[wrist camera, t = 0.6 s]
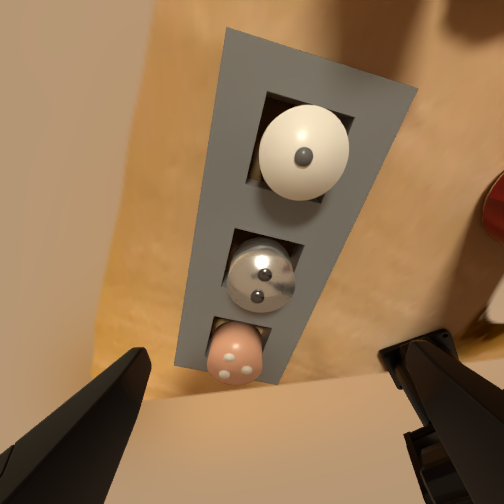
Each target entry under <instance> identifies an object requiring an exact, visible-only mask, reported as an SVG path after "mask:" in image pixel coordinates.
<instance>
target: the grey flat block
mask: <svg viewBox="0 0 504 504" xmlns="http://www.w3.org/2000/svg"><path fill="white" fill-rule="evenodd" d="M417 90H418V88H415V87H412V86H409V85H406V84H403V83H400V82H396V81H393V80H390V79H387V78H384V77H381V76H378V75H375V74H372V73H368V72H365V71H362V70H359V69H356V68H353V67H350V66H347V65H343V64H340V63H337V62H334V61H331V60H328V59H325V58H322V57H319V56H315V55H312V54H309V53H306V52H303V51H300V50H297V49H294V48H291V47H287V46H284V45H281V44H278V43H275V42H272V41H269V40H266V39H262V38H259V37H256V36H253V35H250V34H247V33H244V32H241V31H238V30H234V29H231V28H228V27H226V33H225V39H224V46H223V52H222V59H221V65H220V72H219V78H218V84H217V91H216V97H215V104H214V110H213V117H212V123H211V130H210V136H209V142H208V149H207V155H206V162H205V168H204V175H203V181H202V187H201V194H200V200H199V207H198V213H197V220H196V226H195V232H194V239H193V245H192V252H191V258H190V265H189V271H188V278H187V284H186V290H185V297H184V303H183V310H182V316H181V323H180V329H179V335H178V342H177V348H176V355H175V361H174V366H179V367H184V368H190V369H195V370H200V371H206V372H208V369H207V360H208V355H209V351H210V346H211V342H212V337H209V335H210V331H211V327H212V322H213V318H214V316H217V317H221V318H226V319H231V320H236V321H240V322H245V323H250V324H255V325H260V326H264V330H263V332H262V335H261V336H262V372H261V374H260V375H259V377H258V378H257V379H255V380H254V381H259V382H264V383H270V384H275V385H278V383H279V381H280V379H281V377H282V375H283V373H284V371H285V368H286V366H287V364H288V362H289V360H290V358H291V356H292V354H293V352H294V349H295V347H296V345H297V343H298V341H299V339H300V337H301V335H302V333H303V331H304V328H305V326H306V324H307V322H308V320H309V318H310V316H311V314H312V312H313V309H314V307H315V305H316V303H317V301H318V299H319V297H320V295H321V293H322V291H323V288H324V286H325V284H326V282H327V280H328V278H329V276H330V274H331V272H332V269H333V267H334V265H335V263H336V261H337V259H338V257H339V255H340V253H341V250H342V248H343V246H344V244H345V242H346V240H347V238H348V236H349V234H350V232H351V229H352V227H353V225H354V223H355V221H356V219H357V217H358V215H359V213H360V210H361V208H362V206H363V204H364V202H365V200H366V198H367V196H368V194H369V192H370V189H371V187H372V185H373V183H374V181H375V179H376V177H377V175H378V173H379V170H380V168H381V166H382V164H383V162H384V160H385V158H386V156H387V154H388V152H389V149H390V147H391V145H392V143H393V141H394V139H395V137H396V135H397V133H398V130H399V128H400V126H401V124H402V122H403V120H404V118H405V116H406V114H407V111H408V109H409V107H410V105H411V103H412V101H413V99H414V97H415V95H416V93H417ZM266 97H270V98H273V99H276V100H280V101H283V102H286V103H290V104H293V105H296V106H301V105H315V106H320V107H322V108H325V109H327V110H329V111H330V112H332V113H333V114H334V115H335V116H336V117H337V118H340V119H341V123H342V124H343V126H344V128H345V130H346V133H347V136H348V141H349V156H348V161H347V164H346V167H345V170H344V172H343V174H342V175H341V177H340V179H339V180H338V181H337V182H336V184H335V185H334V186H333V187H332V188H331V189H329V190H328V191H327V192H326V193H324V194H322V195H320V196H318V197H316V198H313V199H310V200H303V201H296V200H290V199H287V198H284V197H282V196H280V195H278V194H277V193H275V192H274V191H273V190H272V189H271V188H270V187H269V186H268V184H267V183H266V182H262V181H259V180H255V179H251V178H247V174H248V170H249V166H250V161H251V157H252V153H253V149H254V144H255V140H256V136H257V132H258V128H259V123H260V119H261V115H262V111H263V106H264V102H265V98H266ZM235 228H237V229H241V230H245V231H249V232H253V233H258V234H262V235H266V236H270V237H274V238H278V239H282V240H286V241H290V242H294V243H295V246H294V249H293V251H292V254H291V257H290V261H291V265H292V269H293V273H294V277H295V291H294V294H293V296H292V298H291V299H290V300H289V301H288V302H287V303H286V304H285V305H284V306H282V307H281V308H279V309H277V310H274V311H271V312H265V313H258V312H252V311H248V310H246V309H243V308H242V307H240V306H238V305H237V304H236V303H235V302H234V301H233V300H232V298H231V297H230V295H229V293H228V290H227V279H228V274H229V271H225V267H226V263H227V259H228V255H229V250H230V246H231V242H232V238H233V233H234V229H235Z"/></svg>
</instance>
